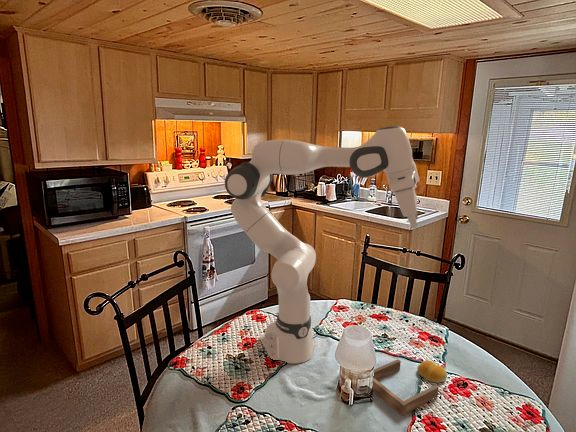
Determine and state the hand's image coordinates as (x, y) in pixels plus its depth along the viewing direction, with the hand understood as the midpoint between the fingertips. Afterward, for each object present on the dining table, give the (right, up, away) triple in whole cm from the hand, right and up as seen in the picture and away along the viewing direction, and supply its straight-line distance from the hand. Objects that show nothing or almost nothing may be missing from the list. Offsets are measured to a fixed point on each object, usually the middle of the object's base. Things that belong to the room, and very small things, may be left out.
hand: (414, 223), depth 118 cm
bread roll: (+10, -51, +13) cm, 53 cm away
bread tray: (-3, -52, +5) cm, 53 cm away
